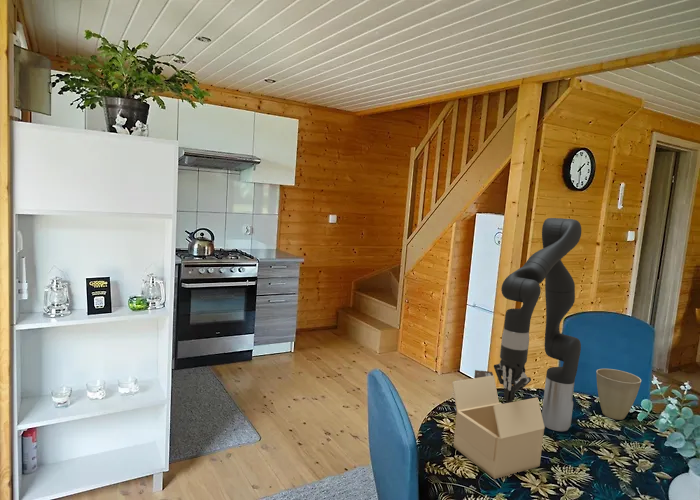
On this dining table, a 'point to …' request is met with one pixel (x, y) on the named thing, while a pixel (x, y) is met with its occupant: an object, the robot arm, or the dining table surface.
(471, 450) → the carton
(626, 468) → the dining table surface
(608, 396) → the plant pot
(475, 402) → the flap
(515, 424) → the flap
